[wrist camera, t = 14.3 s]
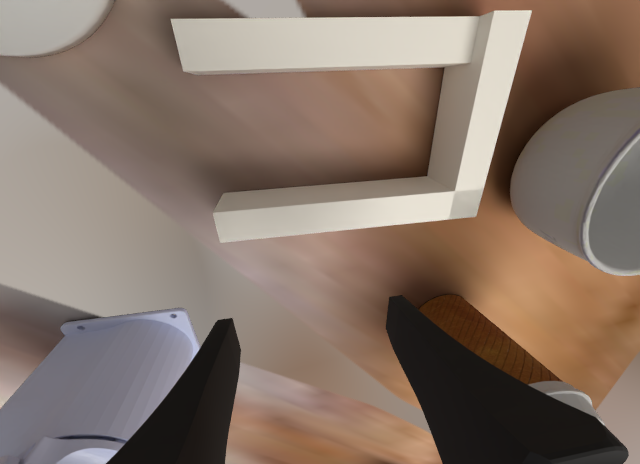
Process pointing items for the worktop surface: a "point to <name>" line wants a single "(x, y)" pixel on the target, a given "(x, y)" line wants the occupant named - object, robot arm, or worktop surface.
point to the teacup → (586, 181)
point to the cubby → (370, 54)
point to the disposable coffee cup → (500, 349)
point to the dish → (48, 25)
